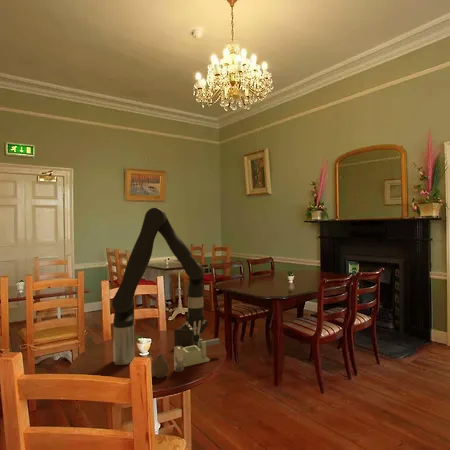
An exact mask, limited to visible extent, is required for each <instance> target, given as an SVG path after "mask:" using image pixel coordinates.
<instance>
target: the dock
mask: <svg viewBox="0 0 450 450" xmlns="http://www.w3.org/2000/svg"><path fill="white" fill-rule="evenodd" d="M201 341H203V342H201ZM199 342H201V347H200V346H199ZM210 360H211V359H210V358H209V357H207V346H206V340H203V338H200V339H199V341H198V346H196V345H194V346H189V347H184V348H183V368H186V367H189V366H194V365H198V364H204V363H207V362H210Z"/></svg>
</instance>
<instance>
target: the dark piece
mask: <svg viewBox="0 0 450 450" xmlns="http://www.w3.org/2000/svg"><path fill="white" fill-rule="evenodd" d="M187 318H188V313H187V314H185V323H186V322H187ZM188 325H189V324H188ZM188 327H189V328H190V330H191V331H192V329H191V326H190V325H189V326H188ZM173 338H174V342H173V343H174V345H173V346H174V347H176V346H182V347H183V348H184V347H189V346H194V345H196V346H197V347H198V342H196V343H195V342H194V341H193V340H192V334H190V333H189V332H188V331H187V330H186V329H185V327H184V326H183V324H182V325H180V326H179V327H177V328H175V329H173ZM199 339H201V333H200V334H199ZM174 347H173V348H174Z"/></svg>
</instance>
